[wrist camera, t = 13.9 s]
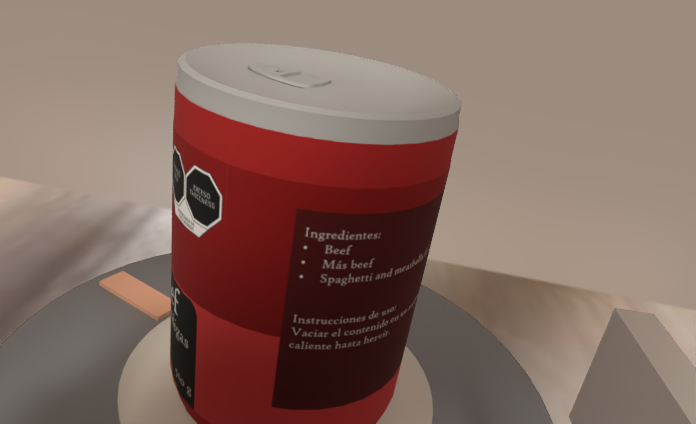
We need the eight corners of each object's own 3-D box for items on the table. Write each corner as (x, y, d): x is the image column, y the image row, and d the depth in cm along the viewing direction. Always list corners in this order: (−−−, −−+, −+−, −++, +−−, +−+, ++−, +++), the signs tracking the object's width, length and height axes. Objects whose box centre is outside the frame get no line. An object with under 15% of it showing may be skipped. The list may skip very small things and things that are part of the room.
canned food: (225, 294, 24) (243, 32, 20) (406, 344, 23) (471, 77, 19) (119, 422, 18) (109, 67, 13) (368, 502, 16) (456, 141, 12)
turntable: (599, 395, 25) (612, 364, 24) (376, 1094, 9) (396, 1066, 8) (251, 232, 33) (253, 206, 33) (-180, 437, 17) (-195, 395, 17)
